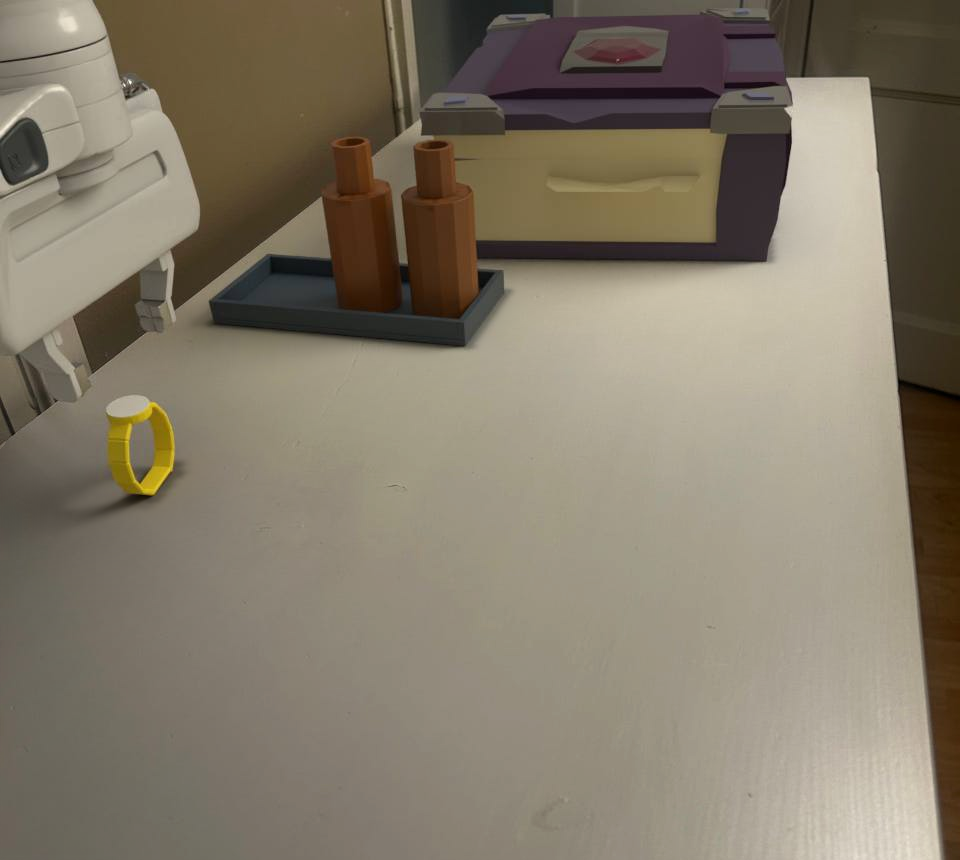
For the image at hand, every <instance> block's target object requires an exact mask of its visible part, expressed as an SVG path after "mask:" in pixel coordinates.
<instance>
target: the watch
mask: <svg viewBox="0 0 960 860" xmlns="http://www.w3.org/2000/svg"><path fill="white" fill-rule="evenodd" d="M105 415H106V418H107V421H108V422H109V429H108V432H107V433H108V434H107V440H106V443H107V444H106V445H107V447H106V448H107V461H108V465H109V468H110V471H111V474H112V477H113V480H114V482H115V483H116V484H117V485H118V487H120V488H121V490H122V491H123V492H124V493H126V494H132V495H133V494H134V495H143V496H155V495H156V493H157V492H158V490H159V488H160V487H161V486H162V484H163V483H164V481H165V480H166V479H167V478H168V476H169V474H170V473H172V472H173V468H174V462H175V455H176V454H175V453H176V451H175V449H176V446H175V437H174V431H173V426H172V425H171V422H170V418H169V417H168V414H167V413H166V411H165V410H164V409H163V408H162V407H161V406H160V405H159V404H158V403H157V402H154V401H150V399H149V398H147V397H146V396H144V395H140V394H129V395H124V396H121V397H119V398H117V399H113V400H112V401H111V402H110V403H108V405H106V408H105ZM146 420H148V422H149V424H150V427H151V429H152V434H153V435H152V436H153V444H154V452H153V453H154V454H153V462H152V466H151V468H150V470H148V472H147V474H146V475H145V476H144V478H143V479H142V481H140V483H139V482H138V481H137V478H136V477H135V474H134V471H133V468H132V465H131V459H130V439H131V434H132V430H133V426H134V425H138V424H140V423H141V424H142V423H143V422H145V421H146Z"/></svg>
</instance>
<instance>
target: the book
mask: <svg viewBox="0 0 960 860" xmlns="http://www.w3.org/2000/svg"><path fill="white" fill-rule="evenodd" d="M770 23H771V18H770V15H769V12H768V9H767V8H763V7H736V8H735V7H734V8H732V7H724V8H722V7H721V8H719V7H718V8H717V7H715V8H714V7H713V8H712V7H710V8H706V10H700V11H699V14H659V15H658V14H657V15H653V14H651V15H611V16H610V15H607V16H604V15H603V16H563V17H562V16H560V17H559V16H556V17H551V14H546V13H517V14H516V13H513V14H511V13H510V14H499V15H498V16H497V17H494V19H493V20H492V22H490V24H489V25H488V26H487V28H486V36H485V37H484V38H483V39H482V42H481V45H480V46H479V47H477V48H475V49H474V51H473V53H471V55H470V56H469V57H468V58H467V60H466V61H465V63H464V64H463V65H462V66H461V68H459V70H458V71H457V73H456V74H455V76H454V77H453V78H452V79H451V80H450V82H449V83H448V85H447V86H446V87H445V89H443V91H441V92H436V93H433V94H431V96H430V98H428V99H427V101H426V103H424V105H423V106H422V107H421V109H420V110H419V116H420V122H421V129H420V136H426V137H428V136H432V139H433V140H439V139H440V140H447V141H451V142H452V143H453V144H454V158H455V174H456V182H457V183H461V184H464V185H468V186H470V188H471V189H472V191H473V196H474V215H475V234H476V254H477V259H478V258H481V259H482V258H483V259H484V258H485V259H488V258H489V259H558V260H559V259H560V260H561V259H562V260H564V259H565V260H567V259H571V260H637V261H638V260H640V261H641V260H646V261H647V260H649V261H652V260H653V261H717V262H718V261H719V262H720V261H724V262H726V261H728V262H729V261H730V262H732V261H733V262H767V261H768V253H769V249H770V248H769V247H770V244H771V242H772V238H773V236H774V232H775V229H776V226H777V224H778V220H779V214H780V213H779V212H780V207H781V201H782V195H783V193H784V190H785V187H786V186H787V185H786V184H787V179H788V173H789V172H788V171H789V167H790V166H789V165H790V159H791V151H792V145H793V130H792V122H793V121H792V120H793V108H794V101H793V93H792V89H791V87H790V85H789V83H788V81H787V71H785V65H784V62H785V61H784V54H783V51H782V50H781V47H780V46H779V43H778V42H777V39H776V36H777V33H776V31H775V29H774V27H773V26H771V25H770Z"/></svg>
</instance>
